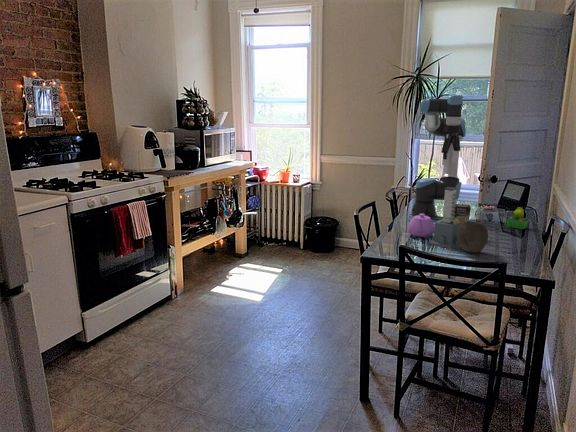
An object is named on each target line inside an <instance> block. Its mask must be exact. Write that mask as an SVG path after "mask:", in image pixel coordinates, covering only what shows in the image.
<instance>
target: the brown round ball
mask: <svg viewBox="0 0 576 432" xmlns="http://www.w3.org/2000/svg"><path fill="white" fill-rule="evenodd" d="M488 231H489V230H488V229H487V226H486V225H485V224H484V223H482V222H479V221H475V220H473V221H472V220H471V221H470V220H469V221H468V222H465V223H464V224H462V225H461V227H460V228H459V230H458V241H459V244H458V245H459V246H460V247H461V248H462V249H463V250H464V251H465V252H467V253H471V254H478V253H480V252H481V251H482V250H484V248H485V247H486V245H487V244H488V240H489V232H488Z"/></svg>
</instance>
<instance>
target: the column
mask: <svg viewBox="0 0 576 432" xmlns="http://www.w3.org/2000/svg"><path fill="white" fill-rule="evenodd" d="M455 196H457V194H456V188H454V187H447V188H445V196H444V200H443V208H442V209H443V210H442V219H443V221H442V223H446V224H453V219H455V217H454V215H455V213H454V211H456V209H454V208H455V207H456V205H455V204H457V200H456V199H457V198H456V197H455ZM455 200H456V201H455Z"/></svg>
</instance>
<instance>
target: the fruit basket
mask: <svg viewBox="0 0 576 432" xmlns="http://www.w3.org/2000/svg"><path fill="white" fill-rule="evenodd" d="M524 216H525V213H524V209H523V208H522V207H520V206H518V207H516V208H515V210H514V211H513V215H508V216H507V217H505V218H504V220H505V224H506V227H507V228H513V229H518V230H519V229H520V230H524V229H526V228H527V226H528V225H529V224H528V223H529V221H530V218H525V217H524Z"/></svg>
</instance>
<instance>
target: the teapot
mask: <svg viewBox="0 0 576 432" xmlns="http://www.w3.org/2000/svg"><path fill="white" fill-rule="evenodd" d="M434 229H435V223H434V221H433V220H432V217H431V218H430V217H428V216H425V214H419V215H417V216H413V217H412V219H410V221H409V223H408V225H407V231H408V233H409V234H410V235H411V236H412V238H418V237H420V238H421V237H423V238H424V239H429V237H431V236H432V235H434Z"/></svg>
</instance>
